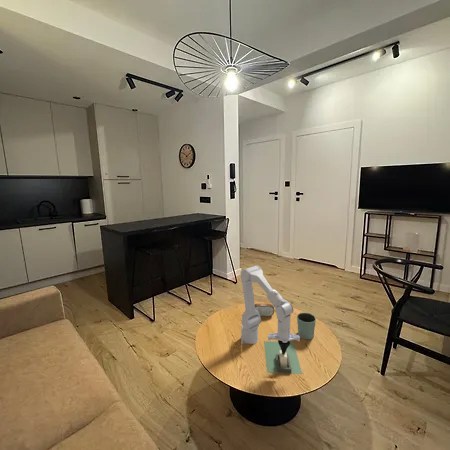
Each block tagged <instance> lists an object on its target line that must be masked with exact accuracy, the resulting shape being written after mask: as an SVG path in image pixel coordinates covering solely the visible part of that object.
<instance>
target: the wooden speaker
mask: <svg viewBox="0 0 450 450" xmlns="http://www.w3.org/2000/svg"><path fill="white" fill-rule="evenodd" d="M254 304H255V310H257V311H258V312H259V315H260V317H272V316H273V315H274V313H275V307H274V306H273V305H272V303H254Z"/></svg>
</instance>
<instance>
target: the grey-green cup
mask: <svg viewBox="0 0 450 450" xmlns="http://www.w3.org/2000/svg"><path fill="white" fill-rule="evenodd" d="M296 320H297V321H296V322H297V335H299V337H300V339H304V340H311V339H313V338H314V337H315V327H316V322H317V318H316V316H315V315H314V314H312V313H309V312H299V313H298V314H297V316H296Z"/></svg>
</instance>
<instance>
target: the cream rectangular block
mask: <svg viewBox="0 0 450 450" xmlns="http://www.w3.org/2000/svg"><path fill="white" fill-rule="evenodd" d="M279 362H280V367H284V368H287V354H286V353H285V354H282V350H280V351H279Z"/></svg>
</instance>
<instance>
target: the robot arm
mask: <svg viewBox="0 0 450 450" xmlns="http://www.w3.org/2000/svg"><path fill="white" fill-rule="evenodd" d="M240 279H241V284H242V292H243V301H244V308H245V309H244V312H243V313H242V314H241V331H240V333H241V335H240V339H241V344H249V345H255V344H257V343H258V341H259V327H260V325H261V323H262V319H261V316H260V315H259V312H258V311H257V310H255V304H256V303H255V297H254V289H253V288H254V287H253V283H256V284H258V285H259V287H261V289H262V290H263V291H264V292H265V293H266V298H267V300H268V301H269V302H270V304H271V305H273V306H274V313H275V314H276V319H277V332H274V333H268V334H267V340H268V341H271V340H272V341H273V340H275V341H276V340H277V342H278V343H279V345H280V347H281V350H282V354H285V353H286V350H287V348H288V346H289V345H290V342H292V341H297V342H301V341H300V339H301V337H300V336H299V335H298V334H293V333H291V315H292V314H293V313H294V307H293V304H292V303H291V302H290V301H287V300H286V299H284V298H283V297H282V295H281V294H280V293H279V292H278V291H277V290H276V289H274V288H272V286H271V285H270V283H269V282H268V280H267V279H266V277H265V276H264V271H263V269H262V268H261V267H260V266H259V265H254V266H253V265H252V266H251V267H248V268H247V267H246V268H243V269H241V270H240Z"/></svg>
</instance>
